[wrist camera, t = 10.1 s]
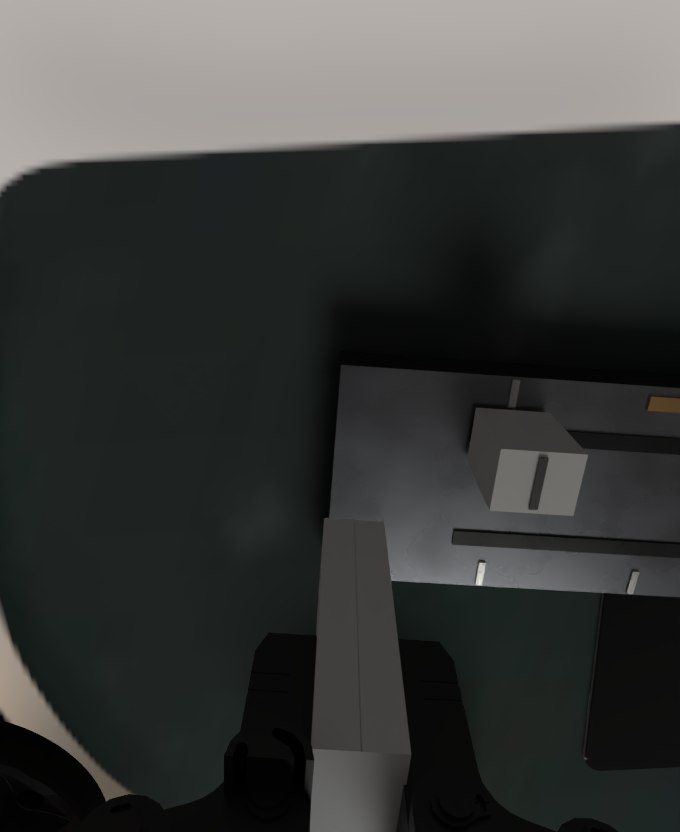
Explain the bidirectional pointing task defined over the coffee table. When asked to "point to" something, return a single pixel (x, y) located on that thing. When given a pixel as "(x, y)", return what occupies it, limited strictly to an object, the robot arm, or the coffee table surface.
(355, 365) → the console
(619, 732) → the smartphone
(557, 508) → the block
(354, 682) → the robot arm
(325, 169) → the coffee table surface
